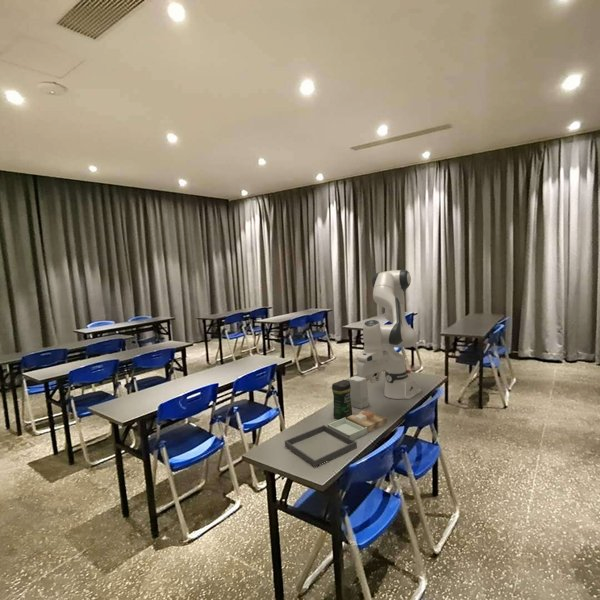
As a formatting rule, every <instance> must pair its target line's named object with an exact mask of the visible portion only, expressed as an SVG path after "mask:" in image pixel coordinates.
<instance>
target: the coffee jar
mask: <svg viewBox="0 0 600 600" xmlns="http://www.w3.org/2000/svg"><path fill="white" fill-rule="evenodd" d="M350 390H351V386H350V382H349V381H348V379H342V380H340V381H337V382H334V383H332V385H331V392H332V394H333V418H335V419H336V420H340V419H342V418H346V417H348V416H351V415H353V408H352V407H353V406H351V398H350ZM346 420H347V418H346Z"/></svg>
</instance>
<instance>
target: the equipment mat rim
mask: <svg viewBox="0 0 600 600" xmlns="http://www.w3.org/2000/svg"><path fill="white" fill-rule="evenodd" d="M322 432H326V433H327V434H329V435H331V436H333V437H336V438H337V439H338V440H340V441H341V442H344V443H346V445H345V446H343V447H340V448H337V450H334V451H332V452H330V453H328V454H326V455H323V456H321V457H319V458H316V459H314V458H312V457H311V456H310V455H308V454H307V453H305V452H304V451H302V450H300V449H299V448H298V447H296V446H294V445H293V444H296V443H299V442H301V441H303V440H305V439H308V438H310V437H313V436H315V435H318V434H319V433H322ZM357 444H358V442H357V441H355V440H352V439H350V438H348V437H346V436H344V435H342V434H340V433H338V432H337V431H335V430H333V429H331V428H329V427H328V425H324V424H323V425H321V426H318V427H315V428H313V429H311V430H309V431H306V432H303V433H301V434H299V435H296V436H293V437H291V438H288V439H286V440H284V447H285V448H287V449H288V450H289V451H291V452H293V453H294V454H295V455H297V456H298V457H300V458H301V459H303V460H304V461H305V462H307V463H308V464H309V465H311V466H312V465H313V466H312V467H314V468H317V467H319V466H321V465H320V464H322V463H324V462H326V461H328V460H330V461H332V460H334V459H336V458H338V457H339V456H340V457H341V456H342V455H345V454H347V453H349V452H350V451H353V450H354V449H357V447H358V445H357ZM337 456H338V457H337ZM335 457H336V458H335ZM333 458H334V459H333ZM331 459H332V460H331ZM328 462H329V461H328ZM326 463H327V462H326ZM324 464H325V463H324ZM318 465H319V466H318ZM322 465H323V464H322ZM316 466H317V467H316Z"/></svg>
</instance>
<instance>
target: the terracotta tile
mask: <svg viewBox="0 0 600 600" xmlns="http://www.w3.org/2000/svg"><path fill="white" fill-rule="evenodd" d="M369 411H370V410H368V411H365V412H363V413H362V414H363V415H366V416H367V420H368V419H370V418H373V417H374V415H373V413H374V412H373V411H370V412H369ZM372 412H373V413H372Z"/></svg>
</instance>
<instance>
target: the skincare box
mask: <svg viewBox="0 0 600 600" xmlns="http://www.w3.org/2000/svg"><path fill="white" fill-rule="evenodd" d="M367 380H368V379H367V378H366V377H359V376H358V375H353V376H351V377H349V378H347V381H349V382H350V386H351V390H350V398H351V406H352V407H354V408H357V409H360V410H362V409H363V410H364V409H365V408H367V407H369V406H370V402H369V401H370V400H369V392H368V383H367Z"/></svg>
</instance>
